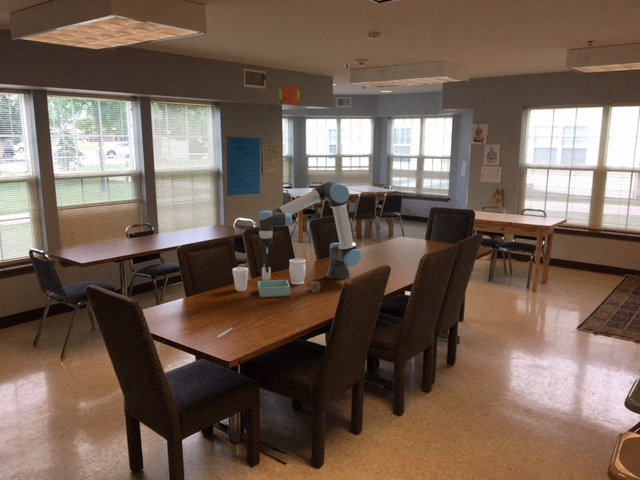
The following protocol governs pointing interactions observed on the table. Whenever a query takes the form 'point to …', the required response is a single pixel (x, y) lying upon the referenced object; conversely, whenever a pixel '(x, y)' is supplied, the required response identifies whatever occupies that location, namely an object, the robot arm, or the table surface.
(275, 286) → the tote
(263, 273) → the ceramic canister
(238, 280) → the foam cup
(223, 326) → the table surface
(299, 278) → the jar
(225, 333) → the butter knife
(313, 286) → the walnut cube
